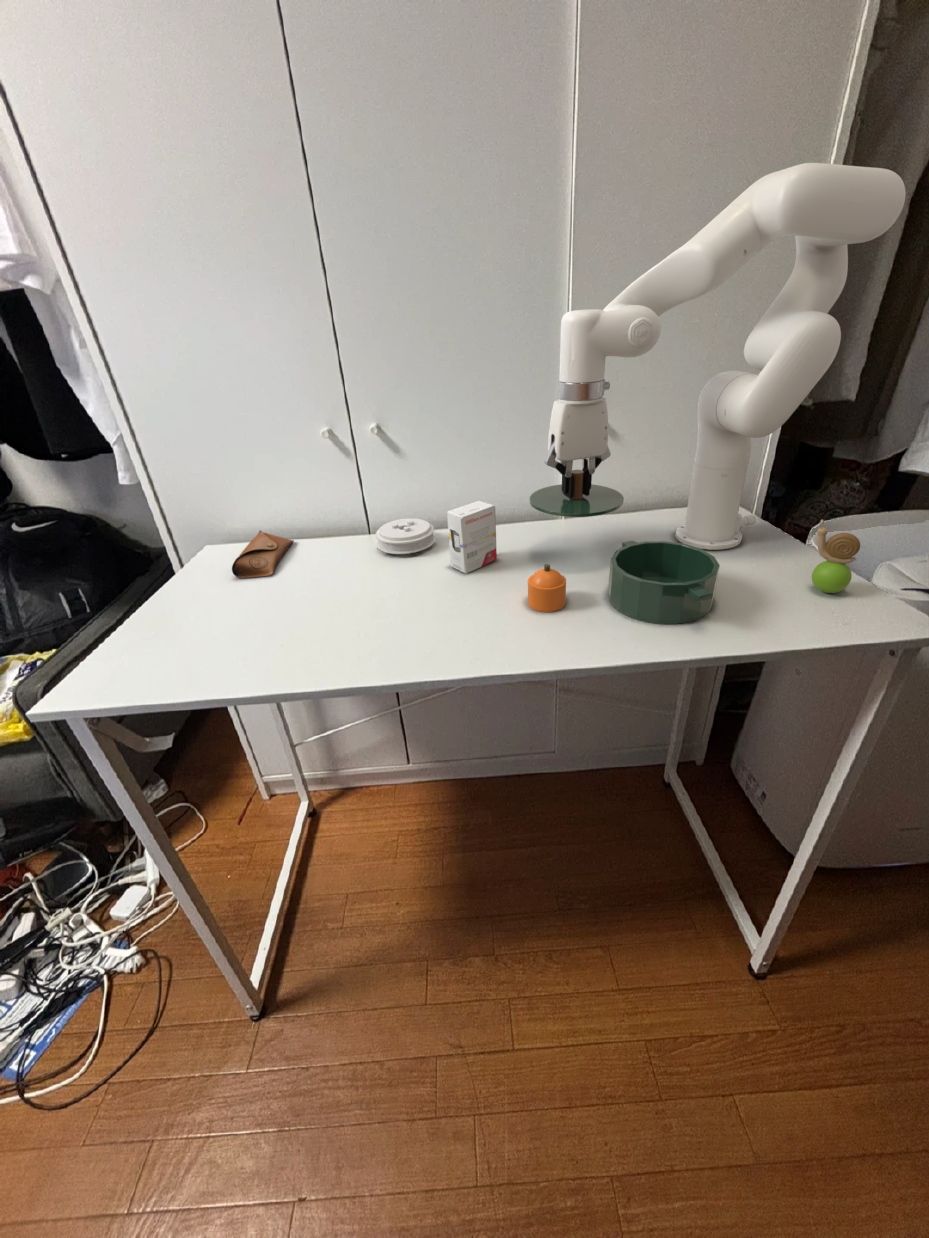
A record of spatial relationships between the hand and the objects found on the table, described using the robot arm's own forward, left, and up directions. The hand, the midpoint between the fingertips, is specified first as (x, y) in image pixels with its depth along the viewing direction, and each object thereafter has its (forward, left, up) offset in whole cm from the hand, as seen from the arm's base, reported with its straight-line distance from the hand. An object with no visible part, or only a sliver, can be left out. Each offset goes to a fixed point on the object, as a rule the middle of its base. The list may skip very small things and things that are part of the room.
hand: (576, 494), depth 103 cm
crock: (-5, +22, -13) cm, 26 cm away
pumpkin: (+13, +16, -13) cm, 24 cm away
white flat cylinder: (+31, -19, -13) cm, 38 cm away
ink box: (+20, -4, -13) cm, 24 cm away
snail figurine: (-31, +30, -13) cm, 45 cm away
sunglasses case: (+61, -25, -13) cm, 67 cm away
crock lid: (0, 0, -1) cm, 1 cm away
